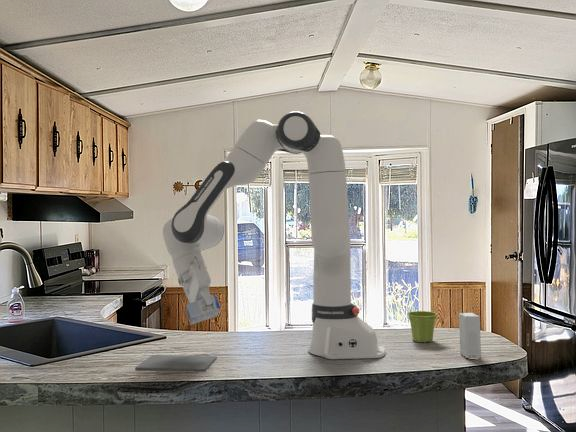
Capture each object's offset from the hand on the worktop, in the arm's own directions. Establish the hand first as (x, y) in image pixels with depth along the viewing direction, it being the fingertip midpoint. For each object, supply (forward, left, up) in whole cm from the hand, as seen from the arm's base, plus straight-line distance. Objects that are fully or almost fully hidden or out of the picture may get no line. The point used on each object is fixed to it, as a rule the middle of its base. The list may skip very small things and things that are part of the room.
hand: (207, 310), depth 167 cm
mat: (+7, +8, -13) cm, 17 cm away
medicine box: (+5, +2, -1) cm, 6 cm away
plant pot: (-63, -25, -14) cm, 70 cm away
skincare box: (-74, -6, -14) cm, 76 cm away
